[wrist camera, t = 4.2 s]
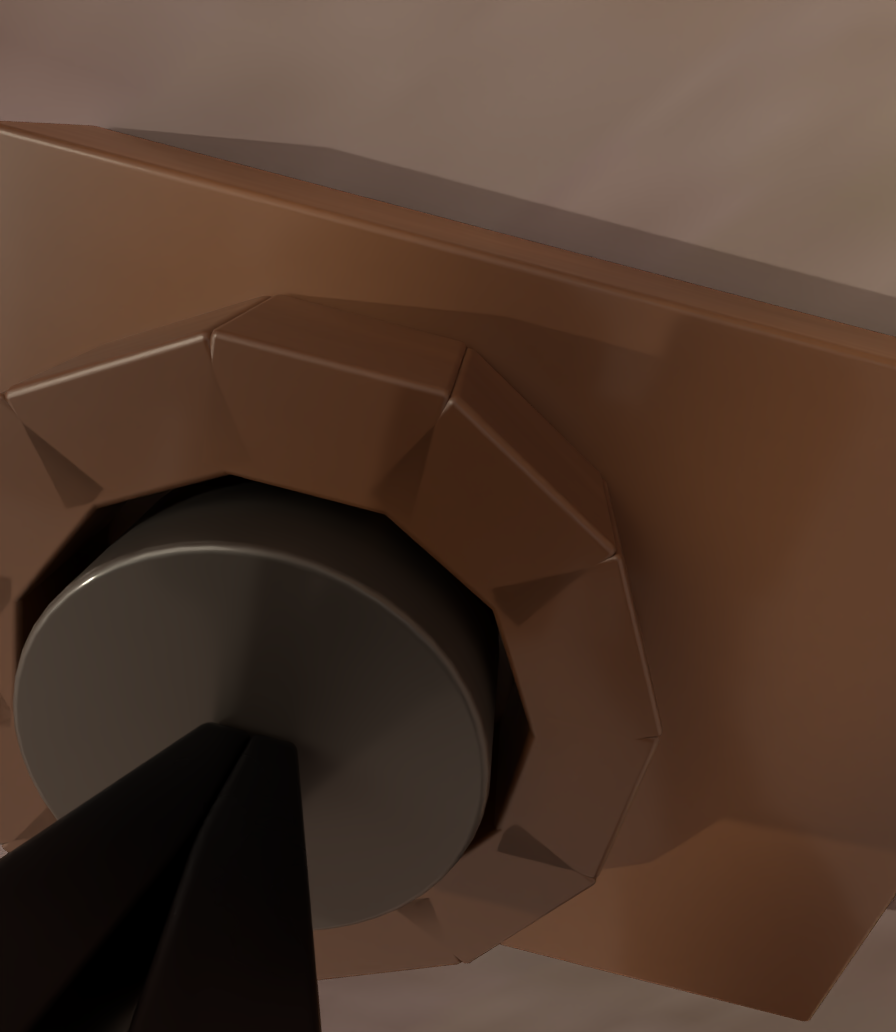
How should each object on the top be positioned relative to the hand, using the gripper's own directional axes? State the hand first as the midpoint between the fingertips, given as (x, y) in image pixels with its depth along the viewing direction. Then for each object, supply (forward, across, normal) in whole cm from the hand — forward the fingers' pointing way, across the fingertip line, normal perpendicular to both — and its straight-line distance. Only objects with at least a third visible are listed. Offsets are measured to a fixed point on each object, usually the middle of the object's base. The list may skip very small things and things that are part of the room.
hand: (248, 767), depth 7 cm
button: (+2, 0, 0) cm, 2 cm away
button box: (+5, -2, 0) cm, 5 cm away
